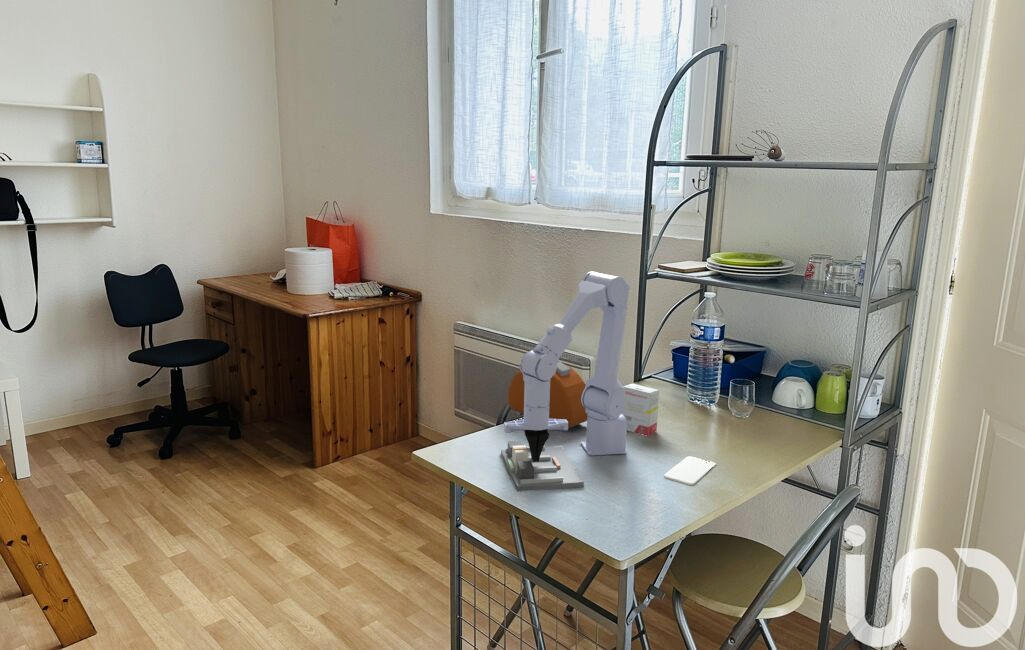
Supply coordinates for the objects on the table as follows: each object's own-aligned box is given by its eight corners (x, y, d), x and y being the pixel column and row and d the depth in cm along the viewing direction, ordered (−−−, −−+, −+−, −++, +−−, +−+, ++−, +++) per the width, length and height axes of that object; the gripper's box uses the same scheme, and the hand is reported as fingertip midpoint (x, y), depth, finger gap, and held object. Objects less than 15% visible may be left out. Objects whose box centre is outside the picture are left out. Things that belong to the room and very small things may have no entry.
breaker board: (561, 451, 186) (561, 435, 185) (583, 487, 167) (584, 469, 166) (500, 454, 183) (501, 438, 182) (516, 491, 164) (517, 473, 163)
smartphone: (717, 463, 180) (692, 484, 168) (717, 466, 181) (692, 487, 169) (688, 455, 184) (662, 475, 173) (688, 458, 185) (662, 478, 173)
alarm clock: (592, 427, 202) (595, 367, 198) (570, 435, 196) (573, 373, 192) (528, 405, 218) (530, 349, 214) (506, 412, 212) (507, 354, 208)
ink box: (657, 431, 200) (660, 389, 197) (648, 437, 196) (651, 393, 193) (629, 423, 205) (631, 382, 202) (619, 428, 201) (622, 386, 199)
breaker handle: (524, 461, 176) (525, 444, 175) (528, 468, 172) (528, 451, 171) (511, 461, 175) (512, 444, 174) (515, 469, 171) (515, 451, 170)
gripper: (563, 396, 176) (561, 451, 179) (502, 399, 173) (500, 454, 176) (571, 407, 169) (569, 463, 172) (507, 409, 166) (506, 467, 170)
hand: (535, 459), depth 174 cm, fingers closed
